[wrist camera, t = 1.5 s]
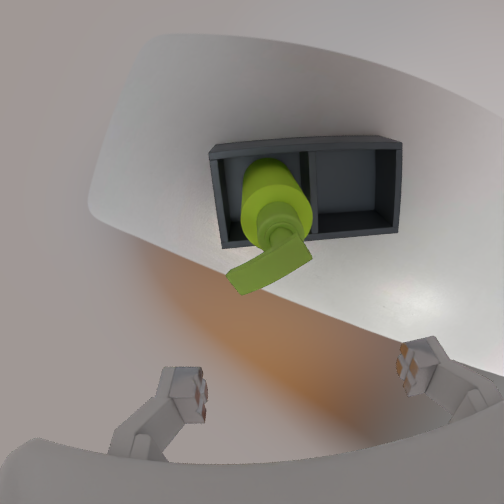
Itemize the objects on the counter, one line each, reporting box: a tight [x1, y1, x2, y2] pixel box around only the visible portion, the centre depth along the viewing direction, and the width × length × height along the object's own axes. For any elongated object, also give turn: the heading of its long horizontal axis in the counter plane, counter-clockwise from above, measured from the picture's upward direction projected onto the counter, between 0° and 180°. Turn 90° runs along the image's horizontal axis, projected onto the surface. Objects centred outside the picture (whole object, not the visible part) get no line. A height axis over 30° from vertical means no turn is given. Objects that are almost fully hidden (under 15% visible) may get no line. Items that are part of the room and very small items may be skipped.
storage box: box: [209, 136, 402, 249], centre depth 34 cm, size 11×20×6 cm, turn 96°
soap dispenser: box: [226, 158, 313, 295], centre depth 28 cm, size 6×7×20 cm
